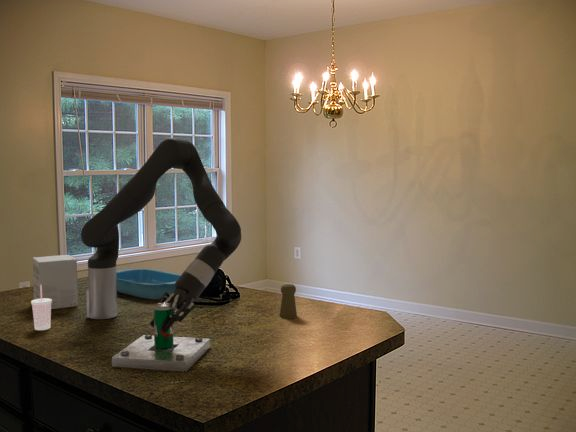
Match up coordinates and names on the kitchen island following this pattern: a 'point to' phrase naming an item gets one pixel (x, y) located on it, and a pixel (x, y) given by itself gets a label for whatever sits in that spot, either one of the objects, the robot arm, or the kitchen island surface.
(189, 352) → the socket plate
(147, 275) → the casserole dish
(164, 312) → the soda can
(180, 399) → the kitchen island surface
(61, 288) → the supplement box
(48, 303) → the beverage cup
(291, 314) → the cork
